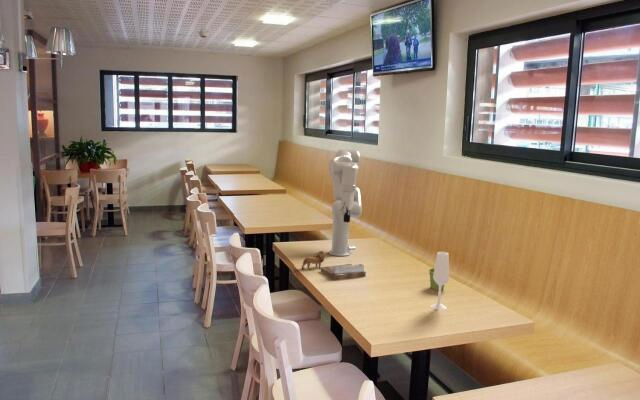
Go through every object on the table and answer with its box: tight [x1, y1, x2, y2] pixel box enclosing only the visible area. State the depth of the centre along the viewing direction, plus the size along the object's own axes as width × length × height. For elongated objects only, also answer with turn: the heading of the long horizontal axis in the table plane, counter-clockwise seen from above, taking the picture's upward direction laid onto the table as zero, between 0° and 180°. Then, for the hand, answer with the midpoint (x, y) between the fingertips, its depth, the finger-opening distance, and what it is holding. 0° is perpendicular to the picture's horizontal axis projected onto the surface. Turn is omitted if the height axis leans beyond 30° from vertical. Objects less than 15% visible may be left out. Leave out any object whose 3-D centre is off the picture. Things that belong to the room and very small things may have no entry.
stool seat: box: [320, 263, 367, 281], centre depth 261 cm, size 18×15×2 cm
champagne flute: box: [430, 251, 450, 311], centre depth 218 cm, size 7×7×24 cm
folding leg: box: [333, 263, 365, 274], centre depth 256 cm, size 16×2×3 cm, turn 112°
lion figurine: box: [301, 250, 326, 271], centre depth 268 cm, size 15×5×9 cm, turn 126°
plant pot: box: [428, 267, 445, 291], centre depth 244 cm, size 9×9×9 cm
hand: (346, 221), depth 272 cm, fingers closed
